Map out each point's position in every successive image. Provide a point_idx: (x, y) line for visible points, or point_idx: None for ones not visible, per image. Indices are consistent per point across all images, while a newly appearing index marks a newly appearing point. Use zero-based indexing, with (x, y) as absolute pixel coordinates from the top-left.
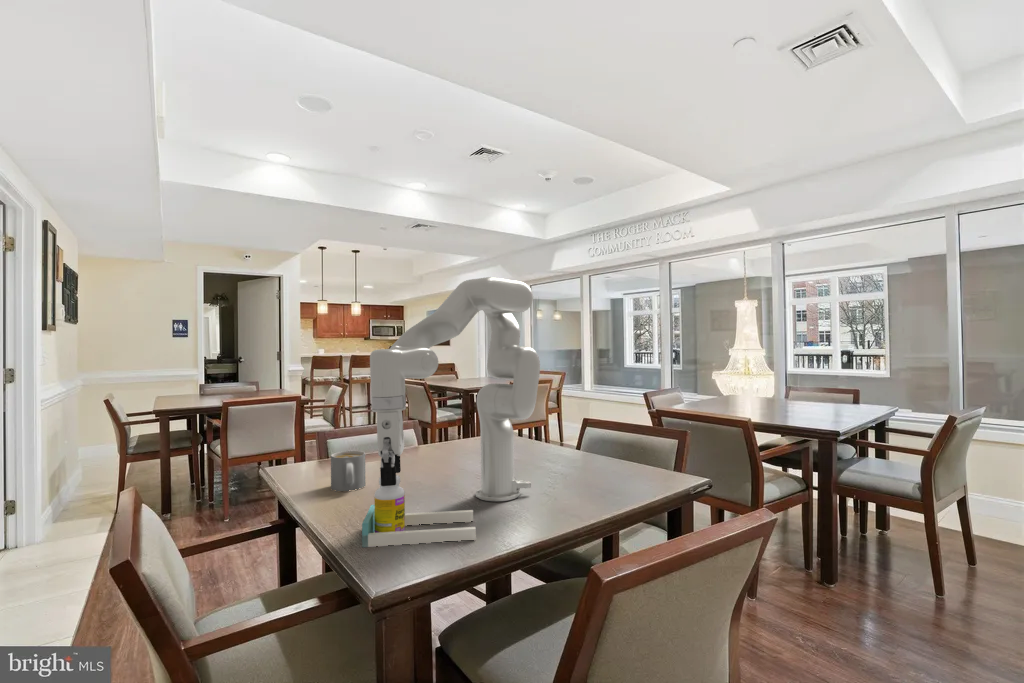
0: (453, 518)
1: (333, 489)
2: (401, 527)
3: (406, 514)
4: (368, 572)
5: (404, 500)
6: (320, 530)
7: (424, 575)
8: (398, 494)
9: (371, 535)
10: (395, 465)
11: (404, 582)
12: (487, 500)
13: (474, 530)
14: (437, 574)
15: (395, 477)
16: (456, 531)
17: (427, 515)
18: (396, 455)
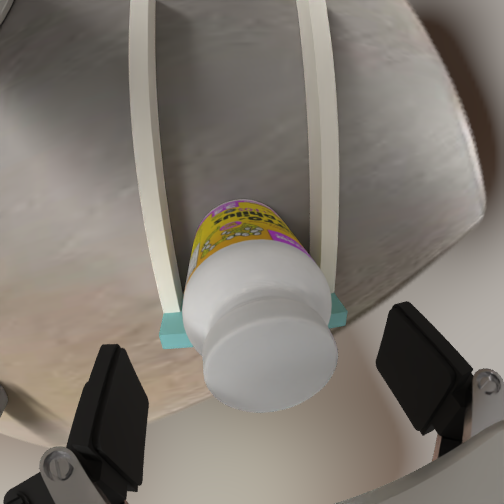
0: (151, 47)
1: (6, 403)
2: (268, 209)
3: (154, 215)
4: (434, 241)
5: (252, 230)
6: (204, 396)
7: (461, 134)
8: (315, 267)
9: (334, 283)
10: (124, 404)
11: (472, 170)
12: (4, 17)
13: None
14: (460, 110)
15: (432, 325)
16: (328, 30)
17: (152, 134)
18: (96, 463)
